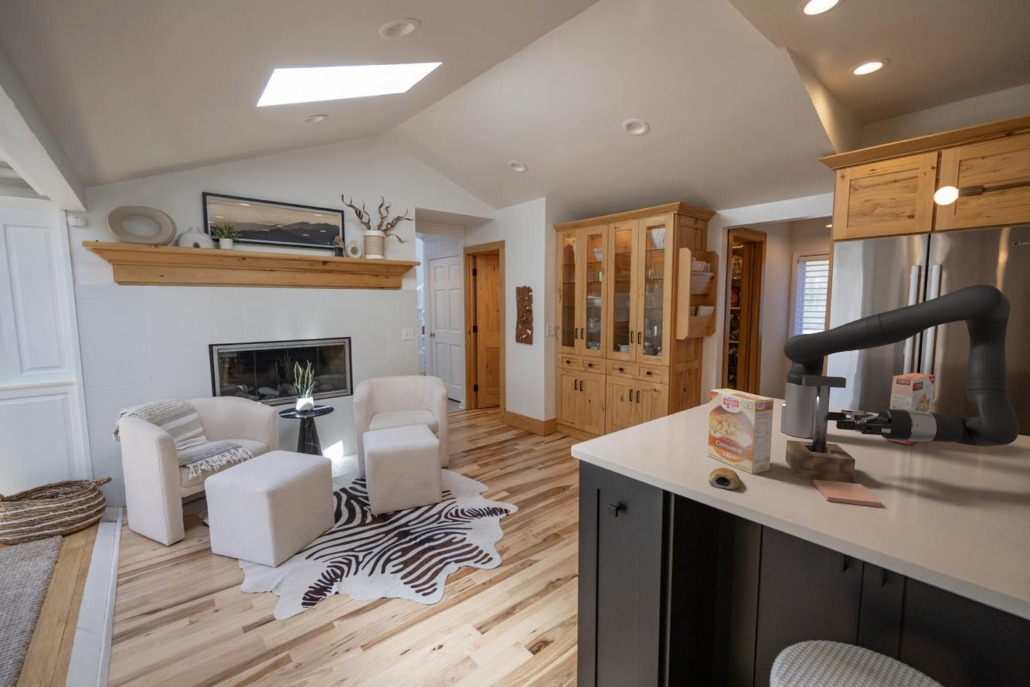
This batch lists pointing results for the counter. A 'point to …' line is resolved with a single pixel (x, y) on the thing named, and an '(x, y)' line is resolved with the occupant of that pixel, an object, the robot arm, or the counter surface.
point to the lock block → (820, 462)
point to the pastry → (724, 479)
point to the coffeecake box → (740, 429)
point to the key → (822, 406)
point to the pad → (846, 493)
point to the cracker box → (912, 395)
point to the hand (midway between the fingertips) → (830, 419)
